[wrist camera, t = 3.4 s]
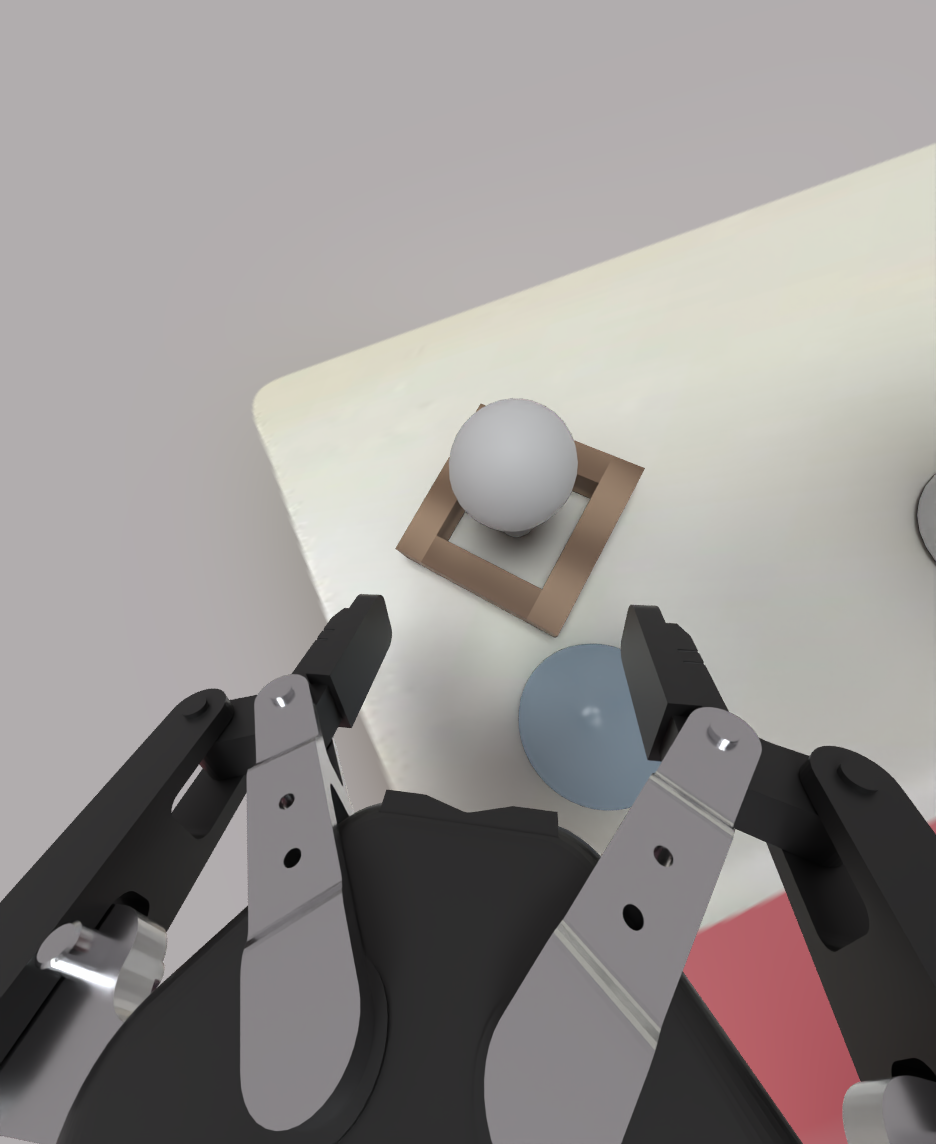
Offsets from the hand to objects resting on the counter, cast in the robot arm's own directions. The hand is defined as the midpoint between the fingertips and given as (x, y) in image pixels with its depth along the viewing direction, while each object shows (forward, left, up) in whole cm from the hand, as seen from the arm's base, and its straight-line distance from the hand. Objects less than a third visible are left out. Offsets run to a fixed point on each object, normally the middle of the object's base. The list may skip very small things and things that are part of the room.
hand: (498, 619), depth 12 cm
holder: (-7, -3, -12) cm, 14 cm away
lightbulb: (-7, -3, -12) cm, 14 cm away
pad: (+2, +7, -12) cm, 14 cm away
